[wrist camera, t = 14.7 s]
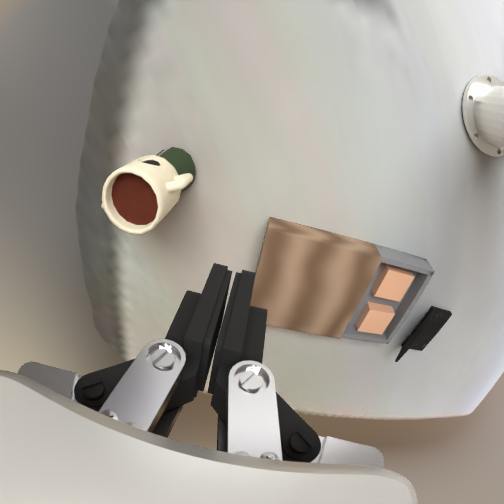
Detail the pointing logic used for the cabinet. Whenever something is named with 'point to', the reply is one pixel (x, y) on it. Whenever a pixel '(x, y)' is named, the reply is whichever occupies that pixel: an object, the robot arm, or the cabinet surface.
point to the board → (312, 277)
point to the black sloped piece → (425, 330)
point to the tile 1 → (375, 318)
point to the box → (401, 309)
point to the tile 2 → (392, 282)
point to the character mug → (147, 190)
